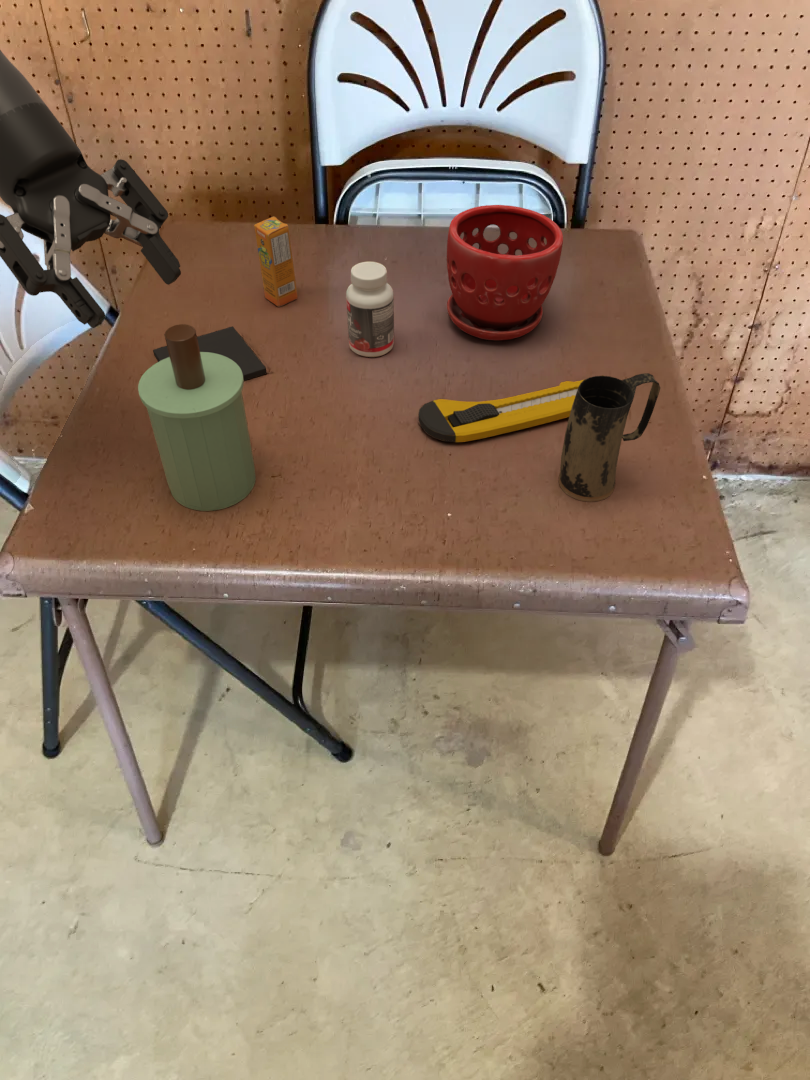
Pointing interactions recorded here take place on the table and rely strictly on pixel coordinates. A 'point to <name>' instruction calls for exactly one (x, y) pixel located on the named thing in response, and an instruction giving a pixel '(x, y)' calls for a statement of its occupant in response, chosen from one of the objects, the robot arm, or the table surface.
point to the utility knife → (496, 413)
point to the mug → (600, 434)
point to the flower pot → (500, 271)
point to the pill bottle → (370, 310)
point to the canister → (206, 457)
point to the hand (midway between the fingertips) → (138, 300)
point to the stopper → (189, 379)
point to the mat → (226, 351)
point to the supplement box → (276, 261)
